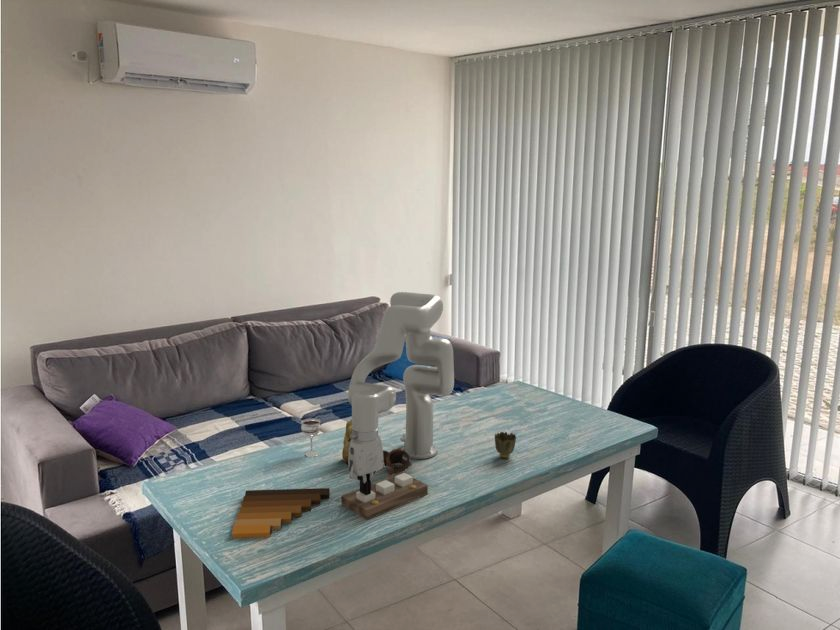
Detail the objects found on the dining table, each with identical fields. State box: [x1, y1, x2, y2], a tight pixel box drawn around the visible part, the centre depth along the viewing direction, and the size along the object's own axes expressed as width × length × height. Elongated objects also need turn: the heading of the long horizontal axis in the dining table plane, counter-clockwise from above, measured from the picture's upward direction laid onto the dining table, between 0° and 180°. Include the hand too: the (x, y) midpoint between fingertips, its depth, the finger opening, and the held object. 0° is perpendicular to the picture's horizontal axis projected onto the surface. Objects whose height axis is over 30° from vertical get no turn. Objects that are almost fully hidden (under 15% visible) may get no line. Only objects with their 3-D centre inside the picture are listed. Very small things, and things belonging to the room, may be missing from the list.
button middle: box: [376, 480, 395, 495], centre depth 212 cm, size 4×4×2 cm
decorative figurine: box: [341, 418, 352, 463], centre depth 238 cm, size 10×8×15 cm
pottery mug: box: [383, 448, 412, 477], centre depth 232 cm, size 12×10×8 cm
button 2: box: [395, 472, 414, 487], centre depth 217 cm, size 4×4×2 cm
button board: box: [340, 472, 429, 521], centre depth 212 cm, size 12×24×3 cm, turn 133°
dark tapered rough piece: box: [494, 431, 517, 460], centre depth 243 cm, size 8×7×8 cm
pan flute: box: [231, 487, 331, 539], centre depth 202 cm, size 25×3×25 cm
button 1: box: [356, 491, 375, 503], centre depth 207 cm, size 4×4×2 cm
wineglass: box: [300, 417, 322, 458], centre depth 244 cm, size 7×7×12 cm
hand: (365, 492), depth 206 cm, fingers closed
